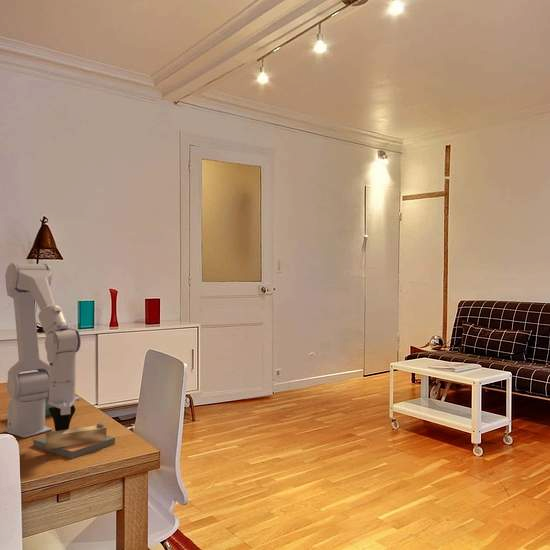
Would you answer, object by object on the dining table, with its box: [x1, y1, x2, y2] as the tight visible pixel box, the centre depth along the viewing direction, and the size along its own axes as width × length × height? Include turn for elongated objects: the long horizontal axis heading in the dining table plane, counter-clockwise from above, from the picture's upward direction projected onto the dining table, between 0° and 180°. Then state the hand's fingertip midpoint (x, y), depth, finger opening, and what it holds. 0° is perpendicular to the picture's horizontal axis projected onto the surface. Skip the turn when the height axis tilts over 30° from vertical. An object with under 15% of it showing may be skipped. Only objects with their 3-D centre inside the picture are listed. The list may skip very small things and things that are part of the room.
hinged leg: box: [45, 422, 107, 449], centre depth 119 cm, size 13×3×4 cm, turn 121°
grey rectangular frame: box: [32, 426, 116, 460], centre depth 123 cm, size 15×12×2 cm
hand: (61, 437), depth 120 cm, fingers closed
